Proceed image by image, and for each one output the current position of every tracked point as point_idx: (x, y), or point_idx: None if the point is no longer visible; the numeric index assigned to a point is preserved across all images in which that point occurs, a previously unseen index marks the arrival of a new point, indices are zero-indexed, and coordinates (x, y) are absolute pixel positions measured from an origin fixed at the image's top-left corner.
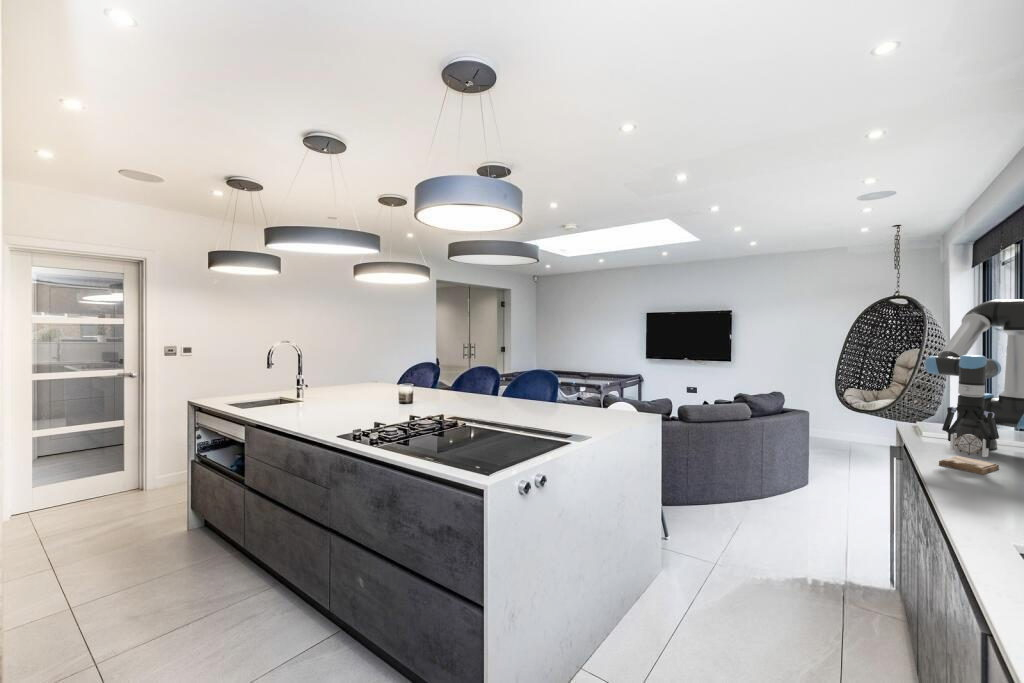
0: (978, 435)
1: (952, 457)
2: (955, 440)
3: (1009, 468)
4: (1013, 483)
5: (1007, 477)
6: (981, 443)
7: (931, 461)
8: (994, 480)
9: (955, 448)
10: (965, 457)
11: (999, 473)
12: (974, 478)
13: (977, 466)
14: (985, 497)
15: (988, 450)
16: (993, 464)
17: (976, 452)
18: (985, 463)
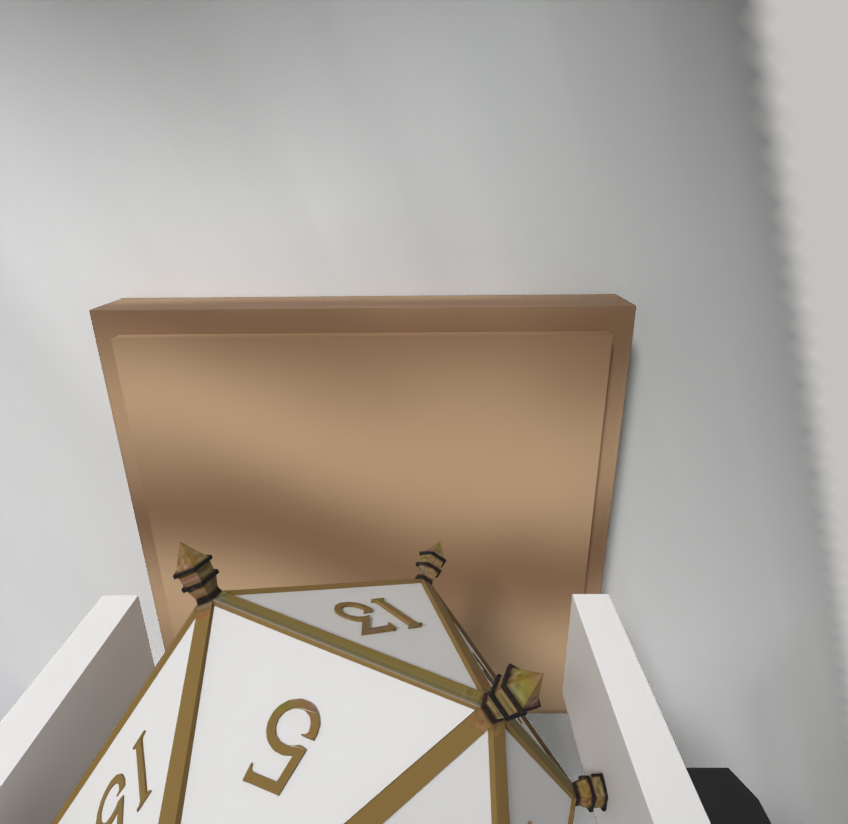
0: None
1: (151, 501)
2: (29, 808)
3: (693, 88)
4: (840, 719)
5: (767, 576)
6: (529, 767)
7: (76, 615)
8: (707, 755)
9: (129, 639)
10: (215, 340)
11: (674, 490)
12: (585, 818)
13: (523, 664)
14: None
15: (646, 681)
16: (602, 411)
17: (427, 583)
18: (519, 446)
